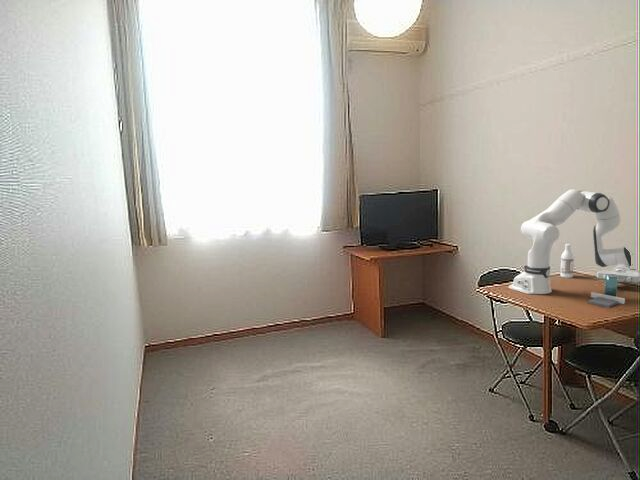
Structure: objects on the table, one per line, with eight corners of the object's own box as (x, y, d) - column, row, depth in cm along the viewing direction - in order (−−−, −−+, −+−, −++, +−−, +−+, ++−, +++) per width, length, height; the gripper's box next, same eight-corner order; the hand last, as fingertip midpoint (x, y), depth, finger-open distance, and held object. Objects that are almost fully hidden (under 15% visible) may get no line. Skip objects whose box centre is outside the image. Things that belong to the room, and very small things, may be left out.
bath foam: (569, 278, 294) (570, 245, 290) (558, 276, 300) (559, 244, 296) (575, 276, 298) (576, 244, 294) (564, 274, 303) (565, 242, 300)
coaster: (587, 303, 247) (587, 300, 247) (597, 299, 253) (597, 296, 252) (608, 307, 239) (608, 305, 239) (618, 303, 244) (618, 301, 244)
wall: (590, 297, 256) (590, 292, 256) (591, 296, 257) (592, 292, 257) (623, 303, 243) (623, 299, 243) (624, 303, 244) (624, 298, 244)
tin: (602, 297, 255) (603, 275, 253) (607, 295, 258) (608, 273, 256) (613, 299, 250) (614, 277, 248) (618, 297, 253) (619, 275, 251)
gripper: (599, 266, 278) (594, 271, 268) (642, 270, 265) (638, 275, 255) (599, 277, 279) (593, 282, 269) (641, 281, 266) (637, 287, 256)
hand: (615, 279), depth 262 cm, fingers open, 8 cm apart
